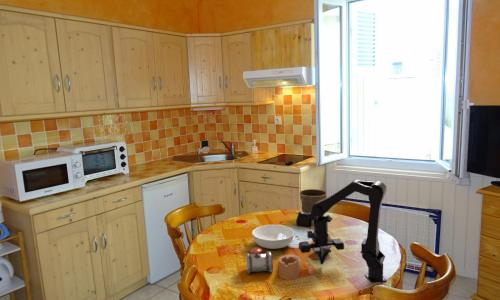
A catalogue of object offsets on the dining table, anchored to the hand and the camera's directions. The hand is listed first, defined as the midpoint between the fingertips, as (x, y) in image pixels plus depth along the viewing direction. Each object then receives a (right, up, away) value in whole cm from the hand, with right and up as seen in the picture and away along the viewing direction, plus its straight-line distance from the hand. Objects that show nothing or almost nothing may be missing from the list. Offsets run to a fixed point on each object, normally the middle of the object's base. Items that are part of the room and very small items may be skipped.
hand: (321, 264), depth 159 cm
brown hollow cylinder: (-14, -2, -1) cm, 14 cm away
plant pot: (+7, +8, +59) cm, 60 cm away
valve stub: (-27, -2, -2) cm, 27 cm away
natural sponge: (+4, +1, +15) cm, 15 cm away
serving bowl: (-19, +2, +25) cm, 31 cm away
